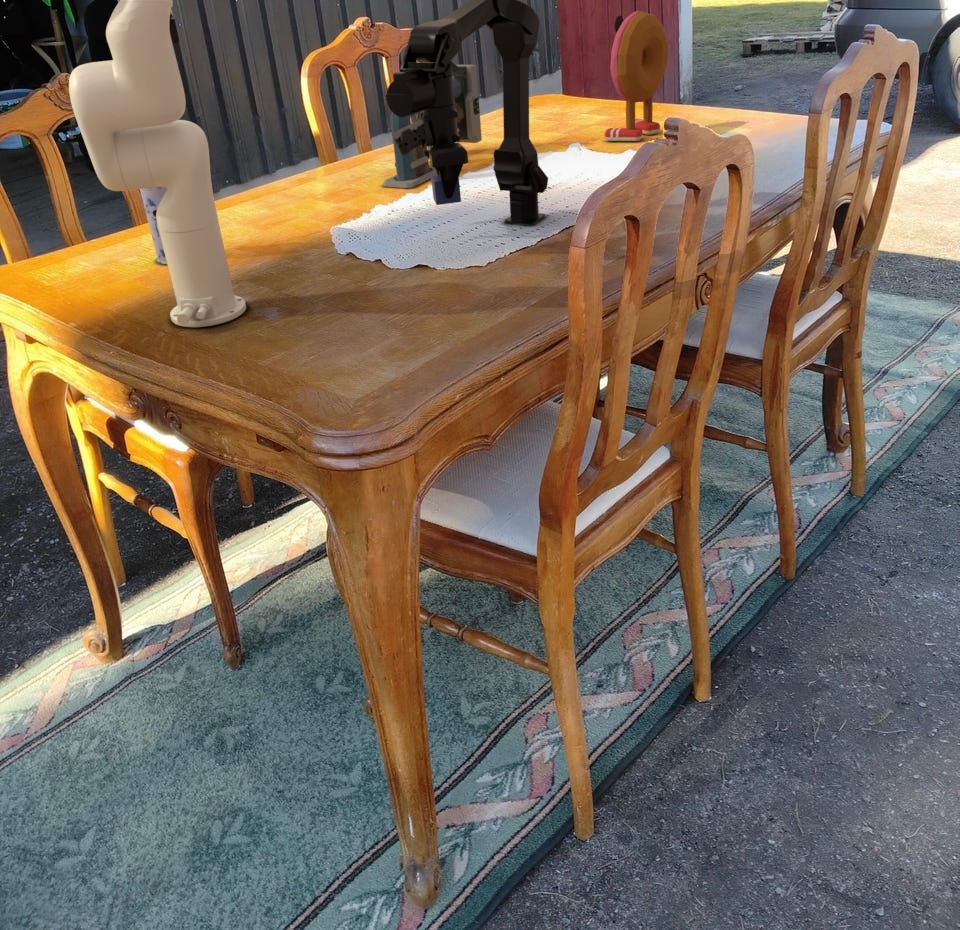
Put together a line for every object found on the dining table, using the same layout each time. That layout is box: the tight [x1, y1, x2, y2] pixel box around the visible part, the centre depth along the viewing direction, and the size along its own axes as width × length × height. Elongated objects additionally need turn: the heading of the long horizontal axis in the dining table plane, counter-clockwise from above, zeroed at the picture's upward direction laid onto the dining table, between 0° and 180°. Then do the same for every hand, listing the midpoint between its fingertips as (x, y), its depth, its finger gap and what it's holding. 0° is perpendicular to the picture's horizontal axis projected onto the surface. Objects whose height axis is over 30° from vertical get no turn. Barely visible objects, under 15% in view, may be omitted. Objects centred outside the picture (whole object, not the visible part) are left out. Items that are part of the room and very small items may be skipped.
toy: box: [604, 10, 669, 142], centre depth 247 cm, size 21×10×30 cm, turn 141°
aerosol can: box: [139, 187, 168, 265], centre depth 188 cm, size 8×8×20 cm
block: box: [430, 175, 462, 206], centre depth 174 cm, size 4×4×4 cm
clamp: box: [382, 64, 483, 189], centre depth 235 cm, size 35×9×21 cm, turn 151°
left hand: (167, 46), depth 174 cm, fingers open, 9 cm apart
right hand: (447, 194), depth 175 cm, fingers closed on block, 4 cm apart
